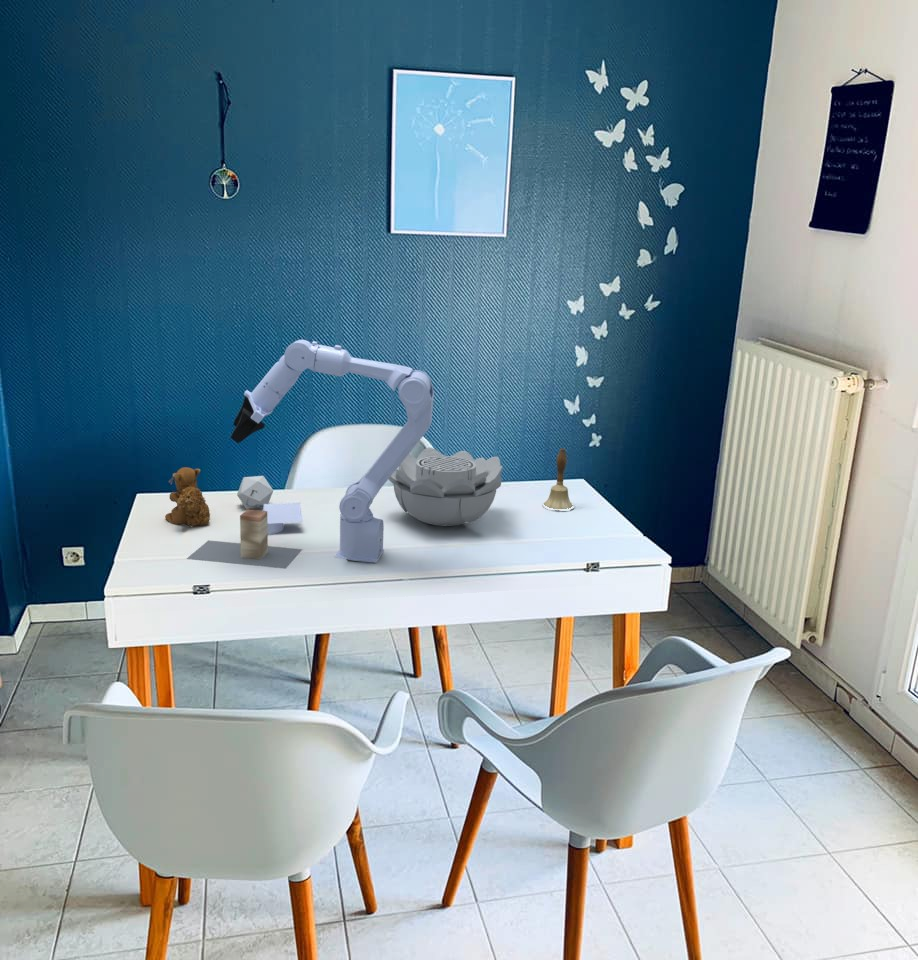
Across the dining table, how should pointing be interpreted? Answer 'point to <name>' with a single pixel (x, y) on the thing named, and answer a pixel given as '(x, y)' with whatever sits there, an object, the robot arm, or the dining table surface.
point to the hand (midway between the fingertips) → (235, 433)
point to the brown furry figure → (188, 500)
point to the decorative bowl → (446, 486)
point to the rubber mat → (232, 554)
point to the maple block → (254, 534)
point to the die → (254, 492)
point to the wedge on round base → (282, 515)
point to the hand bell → (559, 486)
